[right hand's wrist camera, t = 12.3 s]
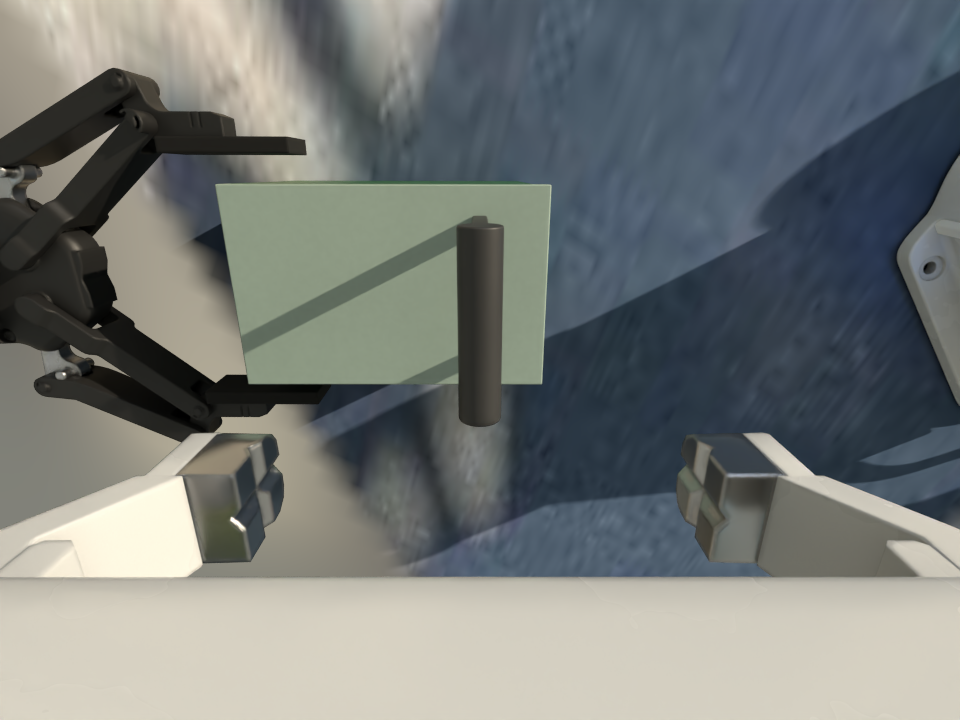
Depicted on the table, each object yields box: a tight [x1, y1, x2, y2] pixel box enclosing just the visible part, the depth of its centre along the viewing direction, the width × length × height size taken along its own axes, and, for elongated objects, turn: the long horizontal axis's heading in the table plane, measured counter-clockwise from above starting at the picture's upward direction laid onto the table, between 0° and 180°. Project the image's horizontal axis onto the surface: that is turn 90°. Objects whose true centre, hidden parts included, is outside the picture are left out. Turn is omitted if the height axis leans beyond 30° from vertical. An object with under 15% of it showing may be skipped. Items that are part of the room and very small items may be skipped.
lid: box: [215, 184, 551, 427], centre depth 22 cm, size 15×10×8 cm, turn 90°
